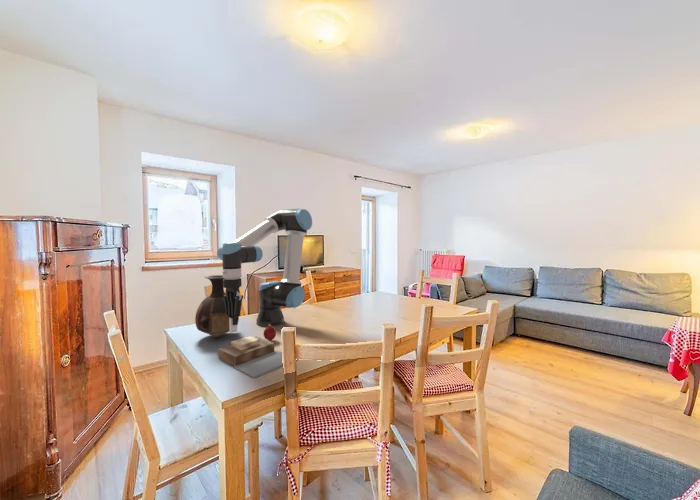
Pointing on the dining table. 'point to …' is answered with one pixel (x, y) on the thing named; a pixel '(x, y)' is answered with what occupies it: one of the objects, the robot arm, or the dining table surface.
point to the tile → (245, 342)
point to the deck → (245, 352)
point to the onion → (269, 333)
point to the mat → (261, 364)
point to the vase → (213, 310)
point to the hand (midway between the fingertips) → (233, 331)
